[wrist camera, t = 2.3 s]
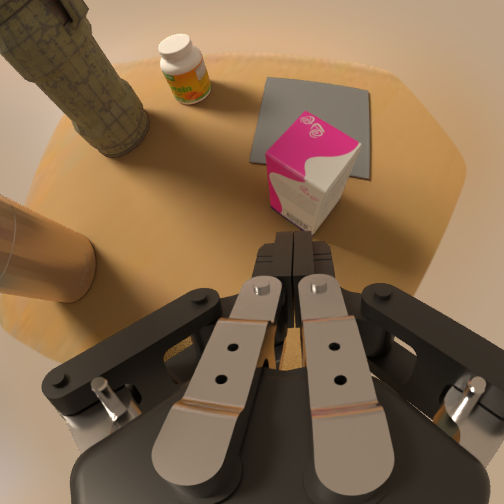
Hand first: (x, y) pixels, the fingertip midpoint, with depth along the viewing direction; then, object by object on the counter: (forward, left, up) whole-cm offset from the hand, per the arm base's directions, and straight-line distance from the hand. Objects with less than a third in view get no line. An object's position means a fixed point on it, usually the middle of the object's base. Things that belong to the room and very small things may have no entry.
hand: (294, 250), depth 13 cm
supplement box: (+1, +10, -19) cm, 21 cm away
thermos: (-25, +18, -19) cm, 36 cm away
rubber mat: (+1, +21, -19) cm, 28 cm away
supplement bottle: (-16, +25, -19) cm, 35 cm away
